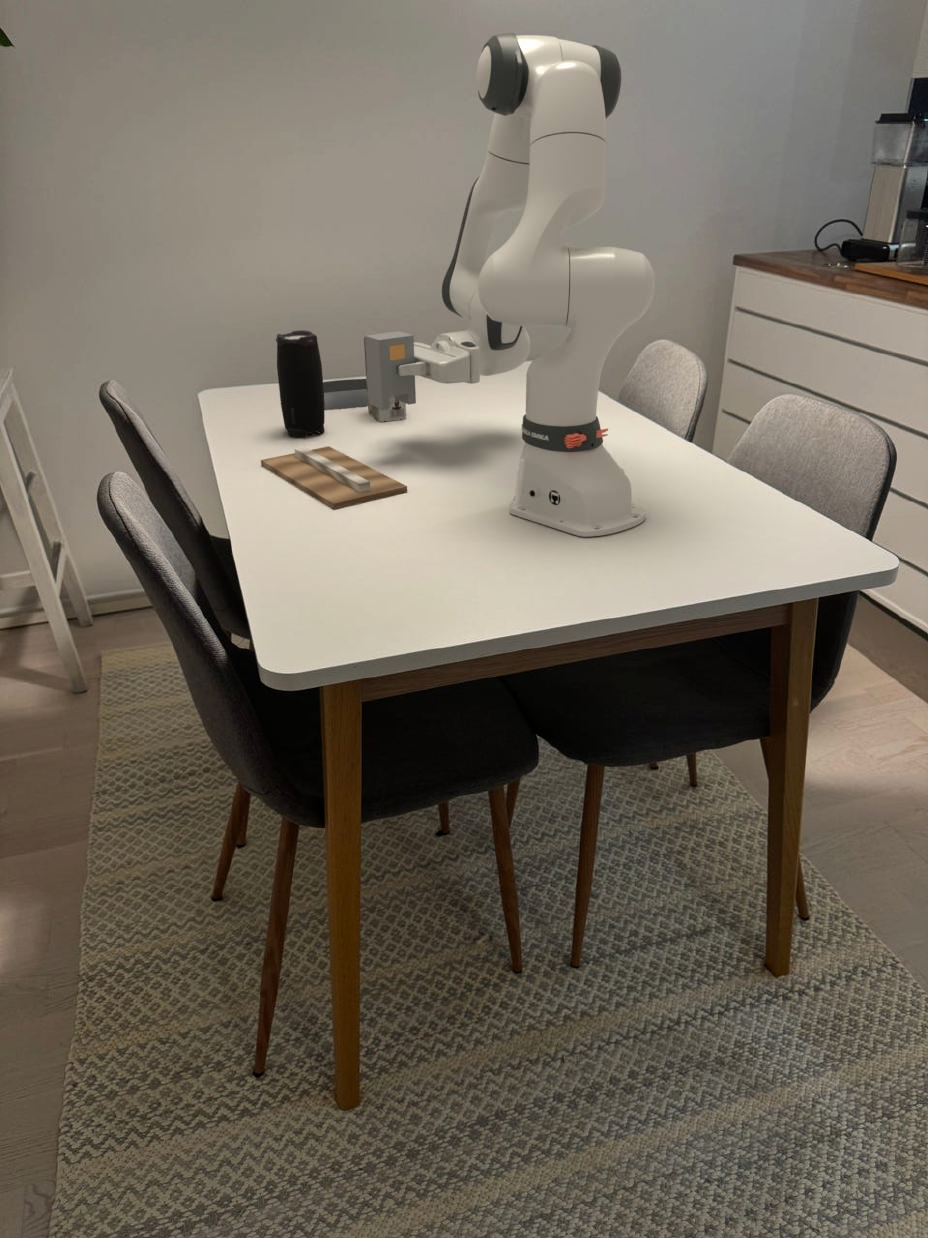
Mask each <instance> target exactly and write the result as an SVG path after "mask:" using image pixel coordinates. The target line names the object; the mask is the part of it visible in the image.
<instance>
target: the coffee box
mask: <svg viewBox="0 0 928 1238" xmlns="http://www.w3.org/2000/svg"><path fill="white" fill-rule="evenodd" d="M363 345H364V348H365V337H364V338H363ZM364 361H365V362H364V363H365V366H366V351H365V350H364ZM365 379H366V383H367V368H366V367H365ZM389 400H390V408H388V409H380V408H378V407H375V406H373V405H371V404H369V402H368V407H367V411H368V413H369V414H370V415H371V414H372V415H373V416H374V417H373V416H372V415H371V416H372V417H373V418H374V419H375V420H377V421H378V423H385V422H384V421H387V422H392V421H391V420H395V421H401V420H400V419H404V420H407V407H406V405H407V404H406V403H403V402H401V401H398V400H396V399H394V396H392V397H389ZM367 401H368V385H367Z"/></svg>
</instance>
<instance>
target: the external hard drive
mask: <svg viewBox="0 0 928 1238" xmlns="http://www.w3.org/2000/svg"><path fill="white" fill-rule="evenodd" d="M323 388H324V403H325V409H324V411H330V410H332V411H333V410H345V409H357V408H356V407H359V408H368V407H367V406H368V401H367V383H366V378H351V379H340V380H339V379H338V380H329V381H323Z"/></svg>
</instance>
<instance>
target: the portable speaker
mask: <svg viewBox="0 0 928 1238" xmlns="http://www.w3.org/2000/svg"><path fill="white" fill-rule="evenodd" d="M275 342H276V369H277V371H276V372H277V378H278V379H277V380H278V391H279V398H280V408H281V413H282V417H283V423H284V429H285V430H286V432H287V434H288V436H289V437H291V438H298V439H299V438H301V439H303V438H304V439H306V437H307V436H308V434H313V433H318V434H319V435H324V433H325V430H326V429H325V410H324V409H325V403H324V388H323V382H324V378H323V377H324V376H323V366H322V359H321V354H320V353H321V352H320V348H319V344H318V337H317V335H316V334H315V333H313V332H312V331H310V330H304V329H303V330H301V329H300V330H293V331H291V332H288V333H283V334H281V333H277V334H276V337H275Z"/></svg>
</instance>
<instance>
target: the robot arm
mask: <svg viewBox="0 0 928 1238" xmlns="http://www.w3.org/2000/svg"><path fill="white" fill-rule="evenodd" d="M476 67H477V68H476V84H477V93H478V97H479V100H480V102H481V103H482V104H483V106H484V107H485V109H486V110H489V111H491V112H493V113H494V115H493V119H492V123H491V129H490V132H489V136H488V143H487V150H486V157H485V160H484V163H483V164H484V165H483V169H482V171H481V174H480V175H479V176H478V177H477V178H476V179H475V181H474V182H473V184H472V186H471V188H470V192H469V194H468V198H467V202H466V204H465V208H464V212H463V216H462V220H461V224H460V228H459V233H458V237H457V240H456V244H455V249H454V253H453V256H452V259H451V261H450V263H449V266H448V268H447V271H446V272H445V275H444V277H443V280H442V284H441V285H442V286H441V297H442V301H443V303H444V305H445V307H446V309H447V310H448V311H450V312H452V313H453V314H454V315H457V316H459V317H460V318H463V319H465V320H466V321H468V322H469V327H468V328H467V329H465V330H460V331H453V332H447V333H446V332H445V333H441V334H438V336H437V337H436V338H435V339H434V342H432V344H431V345H429V344H428V343H427V344H426V343H423V342H417V341H416V342H415V341H414V363H413V364H398V365H397V366H396V374H398V375H400V376H407V375H415V377H417V376H418V377H421V378H424V379H428V380H431V381H434V382H436V383H439V384H460V383H461V384H462V383H466V384H471V385H472V384H478V383H480V381H481V379H480V378H481V376H482V377H483V376H484V377H490V376H495V375H501V374H504V373H508V372H511V371H513V370H516V369H518V368H519V367H520V366H522V365H523V364H525V362H526V361H527V360H528V357H529V355H530V351H531V340H530V339H531V338H530V336H529V333H528V332H527V329H526V328H525V327H565V328H569V330H568V333H567V335H566V337H565V339H563V340H562V342H561V343H559V344H558V345H556V346H554V347H552V348H550V349H548V350H545V351H544V352H542V353H540V354H539V355H538V356H536V357H535V358H534V359H533V360H532V361H531V362H530V364H529V365H528V368H527V371H526V375H525V376H526V384H525V389H526V390H525V391H526V392H525V413H524V415H523V416H522V424H521V439H522V440H523V443H524V444H523V447H522V448H523V449H522V451H521V456H520V458H519V461H518V468H517V476H516V482H515V483H516V484H515V492H514V495H513V496H514V497H513V500H512V501H513V502H512V503H511V505H510V507H509V508H510V509H509V513H510V514H511V515H513V516H516V517H519V518H522V519H525V520H529V521H532V522H535V523H538V524H541V525H544V526H547V527H549V528H553V529H556V530H559V531H562V532H565V533H568V534H572V535H574V536H578V537H582V538H584V537H585V538H586V537H598V536H599V537H600V536H606V535H612V534H615V533H618V532H622V531H625V530H629V529H630V528H634V527H636V526H638V525H640V524H641V523H643V522H644V521H645V520H646V518H647V514H646V513H647V512H646V511H645V510H643V508H640V507H639V506H637V505H635V504H634V503H632V499H633V498H632V487H631V481H630V478H629V477H628V475H626V473H625V471H624V469H623V468H621V467H620V466H619V465H618V463H617V462H616V460H615V459H614V458H613V457H612V455H611V454H610V453H609V451H608V450H607V449H606V447H605V446H604V444H603V443H604V439H603V438H605V437H607V436H609V435H608V434H607V433H606V432H608V431H609V428H603V429H601V425H600V419H599V417H598V416H597V410H598V409H597V408H598V398H599V397H598V396H599V388H600V382H601V374H602V370H603V366H604V363H605V361H606V358H607V357H608V354H609V352H610V350H611V349H612V346H613V345H615V343H616V341H617V340H618V339H619V337H620V336H621V335H622V334H623V333H624V332H625V331H626V330H627V329H628V328H629V327H631V326H632V325H633V324H635V323H636V322H637V321H639V320H640V319H641V318H642V317H643V316H644V315H645V314H646V313H647V311H648V310H649V308H650V306H651V304H652V302H653V299H654V295H655V290H656V279H655V278H656V277H655V272H654V269H653V267H652V264H651V262H650V261H649V259H648V258H647V257H646V255H644V253H642V252H639V251H636V250H630V249H627V248H620V247H615V246H568V245H567V246H566V245H563V244H562V237H563V236H564V235H565V233H566V232H567V231H569V230H570V229H572V228H574V227H576V226H577V225H580V224H582V223H584V222H586V221H587V220H588V219H590V218H592V217H593V216H594V215H596V214H597V213H598V212H599V210H600V209H601V207H602V205H603V204H604V201H605V199H606V194H607V193H606V191H607V190H606V189H607V188H606V184H607V183H606V182H607V119H608V117H609V116H611V115H612V113H613V112H614V110H615V108H616V106H617V103H618V101H619V96H620V93H621V86H622V69H621V64H620V61H619V60H618V57H617V55H616V54H615V52H612V51H611V50H609V49H607V48H604V47H602V46H600V45H596V44H593V45H592V46H590V45H587V44H584V43H580V42H577V41H573V40H572V41H571V40H568V39H561V38H558V37H556V36H553V35H552V36H550V35H538V34H537V35H535V34H534V35H533V34H527V35H525V34H524V35H523V34H522V35H516V33H514V32H506V33H498V34H496V35H492V36H491V37H490V38H489V39H488V41H486V42H485V44H484V45H483V47H482V50H481V54H480V56H479V59H478V63H477V66H476ZM519 211H523V212H522V213H523V214H522V215H521V218H520V221H519V223H518V225H517V226H516V228H515V230H514V232H513V233H512V234H511V235H510V237H509V238H508V240H506V242H505V243H504V244H503V245H502V246H500V247H499V248H498V249H497V250H495V251H494V252H493V253H492V254H491V255H490V256H489V257H488V253H489V251H490V250H489V249H490V246H491V243H492V239H493V234H494V232H495V227H496V224H497V222H498V219H499V218H500V217H501V216H502V215H503V214H504V213H508V212H509V213H511V212H519ZM603 433H604V434H603ZM605 433H606V434H605Z"/></svg>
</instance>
